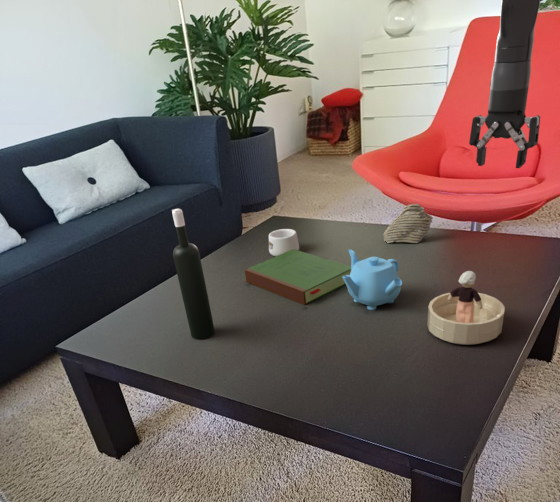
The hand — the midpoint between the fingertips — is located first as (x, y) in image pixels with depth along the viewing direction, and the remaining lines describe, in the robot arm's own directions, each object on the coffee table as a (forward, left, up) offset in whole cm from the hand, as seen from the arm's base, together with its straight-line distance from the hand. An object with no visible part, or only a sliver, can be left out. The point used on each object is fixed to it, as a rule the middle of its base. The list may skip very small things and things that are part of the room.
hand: (499, 166), depth 119 cm
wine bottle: (+45, +58, -28) cm, 79 cm away
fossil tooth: (+32, -17, -28) cm, 46 cm away
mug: (+63, +7, -28) cm, 69 cm away
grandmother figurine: (-6, +26, -28) cm, 38 cm away
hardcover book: (+43, +23, -28) cm, 56 cm away
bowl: (-6, +26, -28) cm, 39 cm away
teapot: (+19, +24, -28) cm, 42 cm away
